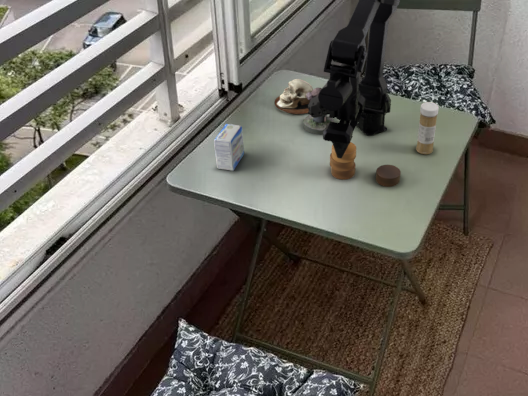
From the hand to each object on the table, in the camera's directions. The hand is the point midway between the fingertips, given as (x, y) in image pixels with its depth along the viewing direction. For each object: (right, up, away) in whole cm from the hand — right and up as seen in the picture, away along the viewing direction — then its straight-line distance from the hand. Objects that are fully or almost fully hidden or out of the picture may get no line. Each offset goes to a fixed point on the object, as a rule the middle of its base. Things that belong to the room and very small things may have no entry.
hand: (343, 147), depth 165 cm
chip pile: (0, -6, +5) cm, 8 cm away
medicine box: (-29, -3, +6) cm, 29 cm away
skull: (-15, +14, +30) cm, 36 cm away
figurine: (-8, +7, +22) cm, 24 cm away
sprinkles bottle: (+21, 0, +15) cm, 25 cm away
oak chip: (0, -2, +2) cm, 3 cm away
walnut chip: (+11, -8, +3) cm, 14 cm away
